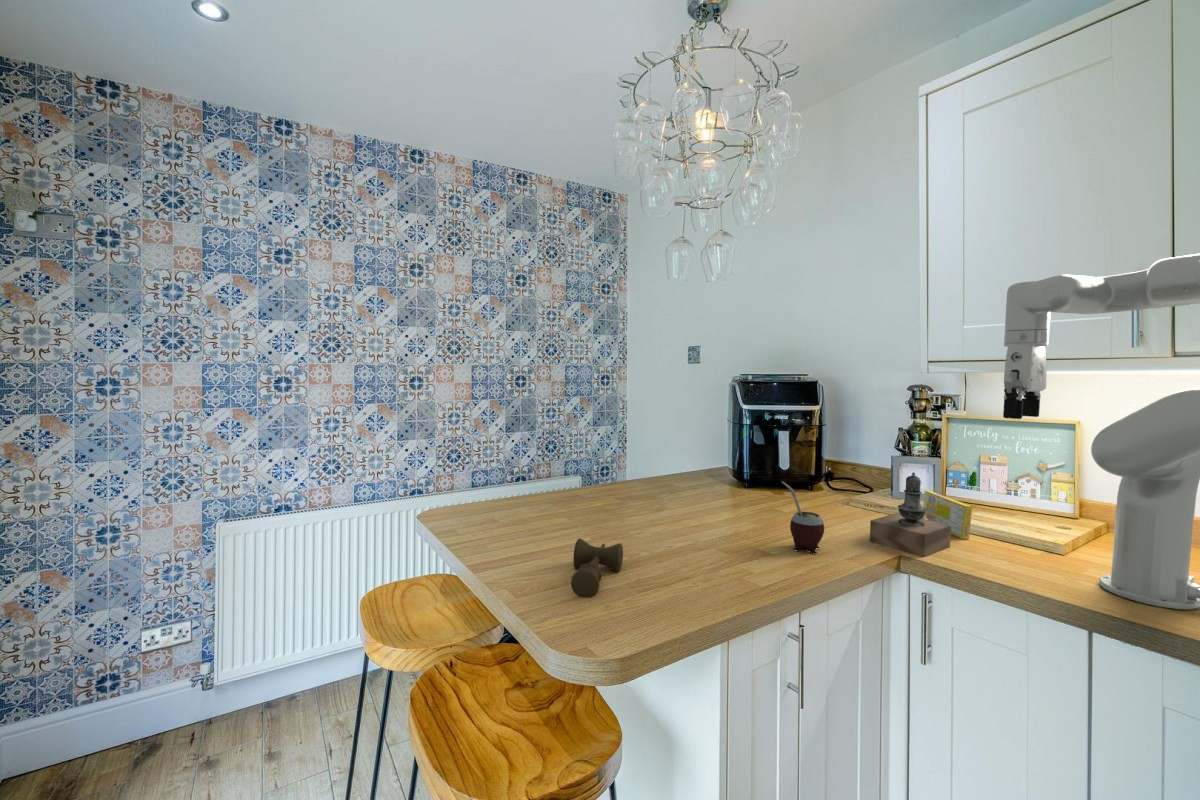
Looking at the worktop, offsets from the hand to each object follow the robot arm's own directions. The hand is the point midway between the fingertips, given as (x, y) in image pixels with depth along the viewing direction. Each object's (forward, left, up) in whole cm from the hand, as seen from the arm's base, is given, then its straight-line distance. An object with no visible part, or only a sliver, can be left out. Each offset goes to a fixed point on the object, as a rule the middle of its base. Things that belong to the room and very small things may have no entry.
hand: (1021, 417), depth 113 cm
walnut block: (+15, +15, -30) cm, 37 cm away
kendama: (+39, +87, -31) cm, 100 cm away
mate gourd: (+26, +39, -31) cm, 56 cm away
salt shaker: (+15, +15, -26) cm, 33 cm away
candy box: (+16, -5, -31) cm, 35 cm away
